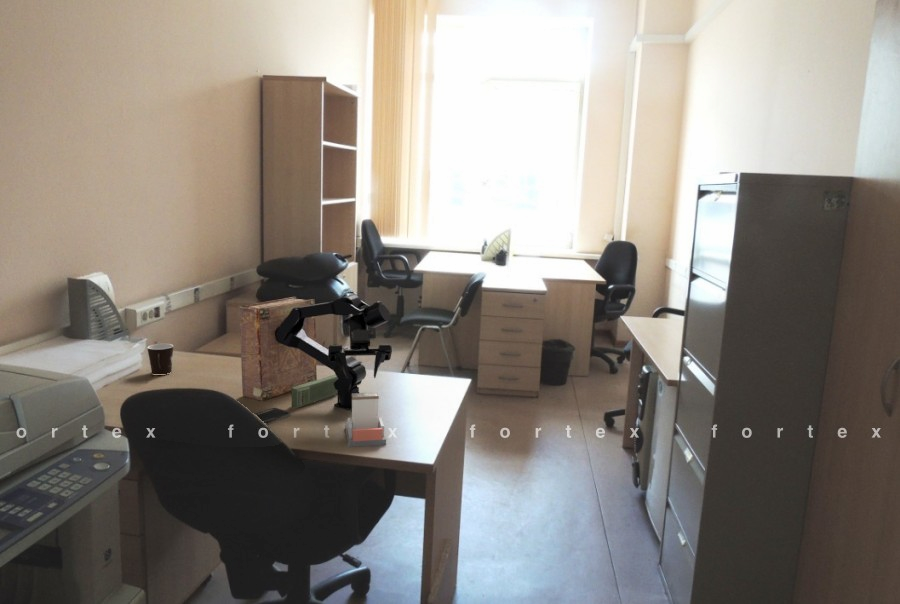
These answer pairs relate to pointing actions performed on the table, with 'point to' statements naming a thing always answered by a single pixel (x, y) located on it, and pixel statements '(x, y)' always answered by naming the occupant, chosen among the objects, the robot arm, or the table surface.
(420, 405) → the table surface
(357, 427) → the white box
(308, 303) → the book
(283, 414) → the phone
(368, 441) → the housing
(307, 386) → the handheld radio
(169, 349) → the coffee mug
